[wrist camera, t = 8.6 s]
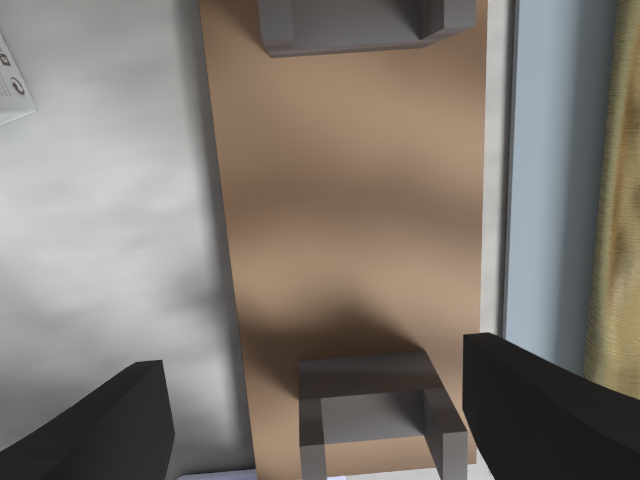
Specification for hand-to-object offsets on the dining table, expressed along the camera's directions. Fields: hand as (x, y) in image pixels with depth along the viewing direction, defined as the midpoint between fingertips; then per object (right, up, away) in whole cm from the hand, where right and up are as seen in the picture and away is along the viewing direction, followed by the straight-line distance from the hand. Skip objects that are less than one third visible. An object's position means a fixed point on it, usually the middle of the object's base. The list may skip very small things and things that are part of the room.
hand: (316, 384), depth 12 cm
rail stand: (+1, +5, +9) cm, 10 cm away
